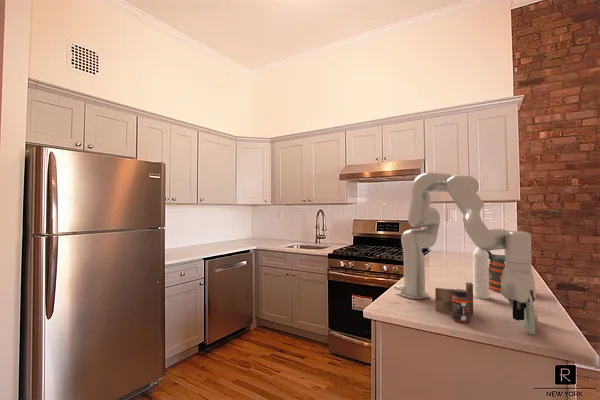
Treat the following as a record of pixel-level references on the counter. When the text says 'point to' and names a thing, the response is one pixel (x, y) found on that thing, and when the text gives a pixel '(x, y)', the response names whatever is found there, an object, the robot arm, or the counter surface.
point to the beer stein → (496, 271)
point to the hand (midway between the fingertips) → (518, 319)
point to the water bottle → (481, 274)
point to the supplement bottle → (460, 306)
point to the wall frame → (445, 298)
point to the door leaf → (530, 319)
